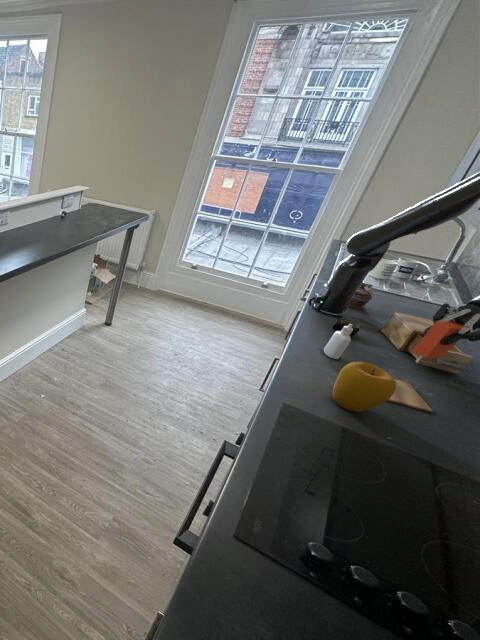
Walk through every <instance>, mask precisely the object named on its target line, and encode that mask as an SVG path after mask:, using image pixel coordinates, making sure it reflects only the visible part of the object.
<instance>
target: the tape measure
mask: <svg viewBox="0 0 480 640" xmlns="http://www.w3.org/2000/svg"><path fill="white" fill-rule="evenodd" d="M349 324H352V329H353V331H352V332H351V334H350V335H349V336H350V337H354V336H355V335H356V334H357V333H359V332H360V326H359V325H358V324H357V323H355V322H354V321H353V322H352V321H349V320H346V319H338V320H337V321H335V322H334V323H333V324H332V329H333V330H335V331H336V332H337V331H340V332H341V330H342V329H343V327H344V326H348V325H349Z"/></svg>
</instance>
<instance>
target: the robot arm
mask: <svg viewBox="0 0 480 640" xmlns="http://www.w3.org/2000/svg"><path fill="white" fill-rule="evenodd" d="M479 201H480V171H479V172H476V173H475V174H473V175H471V176H470V177H467V178H466V179H463V180H462V181H460V182H458V183H456V184H454V185H453V186H451V187H449V188H447V189H444V190H443V191H440V192H439V193H436V194H435V195H432V196H430V197H428V198H426V199H424V200H423V201H420V202H419V203H417V204H415V205H414V206H412V207H409V208H407V209H405V210H404V211H402V212H400V213H398V214H397V215H395V216H393V217H391V218H388V220H385V221H382V222H381V223H379V224H376V225H373V226H371V227H368V228H367V229H364V230H361V231H359V232H357V233H355V234H353V235H352V236H351V237H349V239H348V240H347V241H346V244H345V250H346V252H347V253H348V254H349V256H348V257H347V258H345V259H344V260H342V261H340V262H339V263H338V265H337V266H336V268H335V270H334V272H332V275H331V277H329V280H328V281H327V283H325V284H323V286H322V287H321V289H320V290H319V292H318V293H317V292H314V293H313V295H312V297H311V298H310V299H309V300H308V306H310V307H313V308H314V309H315V310H316V311H318V312H320V313H324V314H326V315H330V316H334V317H340V316H342V315H343V313H344V312H346V310H347V308H348V307H347V305H348V304H349V302H350V300H351V299H352V297H353V296H354V294H355V293H356V291H357V290H358V288H359V287H360V285H361V284H362V282H363V283H364V280H365V279H366V277H367V276H368V275H369V273H370V272H372V271H373V270H375V268H377V266H378V264H379V263H380V262H381V260H382V259H383V258H384V256H385V255H386V254H387V252H388V250H389V249H390V246H391V243H392V242H393V241H395V240H397V239H400V238H404V237H406V236H410V235H414V234H416V233H421V232H423V231H426V230H431V229H433V228H435V227H438V226H440V225H443V224H445V223H448V222H449V221H452V220H454V219H456V218H458V217H460V216H462V215H464V214H466V213H467V212H468V211H470V210H471V209H472V208H473V207H474V206H475V205H476V204H477V203H478V202H479ZM453 312H454V313H453ZM432 320H433V323H435V322H436V321H448V322H455V323H457V324H459V325H462V326H463V327H462V328H461V329H460V330H459V331H458V332H457V333H456V332H454V333H452V334H451V335H449V336H447V337H445V338H443V339H441V341H440V342H441V344H442V345H444V346H445V345H451V344H453V343H455V342H456V341H458V340H459V341H460V340H468V341H469V342H477V341H480V295H478V296H477V297H475V298H473V299H471V300H469V302H467V303H466V304H462V305H459V306H453V305H450V303H448V302H445V303H443V304H442V305H441V306H440V307H439V308H438V310H437V311H436V312H435V313H434V315H433V316H432ZM432 326H433V325H432ZM432 326H430V327H428V328H427V329H425V330H424V331H425V332H424V335H426V333H427V332H428V331H429V330H430V328H431V327H432ZM459 341H458V342H459Z"/></svg>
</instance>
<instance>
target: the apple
mask: <svg viewBox="0 0 480 640" xmlns="http://www.w3.org/2000/svg"><path fill="white" fill-rule="evenodd" d="M394 379H395V378H394V377H393V376H392V375H390V373H388V372H387V371H386V370H384V369H382V368H380V367H379V366H376V365H373V364H372V363H369V362H366V361H365V362H364V361H352V362H350V363H348V364H346V365H344V366H343V368H341V369H340V371H339V373H338V375H337V377H336V380H335V382H334V385H333V389H332V398H333V401H334V402H335V403H337V405H338V406H340V407H342V408H343V409H344V410H347V411H350V412H357V413H362V412H365V411H370V410H371V409H373V408H375V407H378V406H380V405H381V404H384V403H385V402H387V400H388V399H389V398H390V397H391V396H392V395H393V393H394V391H395V388H396V381H395V380H394Z"/></svg>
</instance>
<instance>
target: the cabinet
mask: <svg viewBox="0 0 480 640" xmlns="http://www.w3.org/2000/svg"><path fill="white" fill-rule="evenodd" d="M432 325H434V323H433V319H430V318H429V319H428V318H425V317H420V316H415V315H411V314H406V313H402V312H396V311H394V313H392V315H391V316H390V318H389V320H387V322H386V324H385V325H384V326H383V327H382V329H381V332H382V333H383V334H384V335H385V337H386V338H387V339H388V340H389V341H390V342H391V343H392V344H393V345H394V346H395V348H396V349H397V350H398V351H402V352H406V353H410V354H411V352H410V351H409V350H408V349H407V348H406V347H405V346H406V345H407V343H408V342H409V341H410V340H411V338H412V337H413V336H414V334H415V333H418V334H423V335H424V332H425V331H424V330H425V329H427V328H428V327H430V326H432ZM459 341H460V340H458V341H456V343H455V344H454V345H455V346H456V345H457V343H458V342H459Z"/></svg>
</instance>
